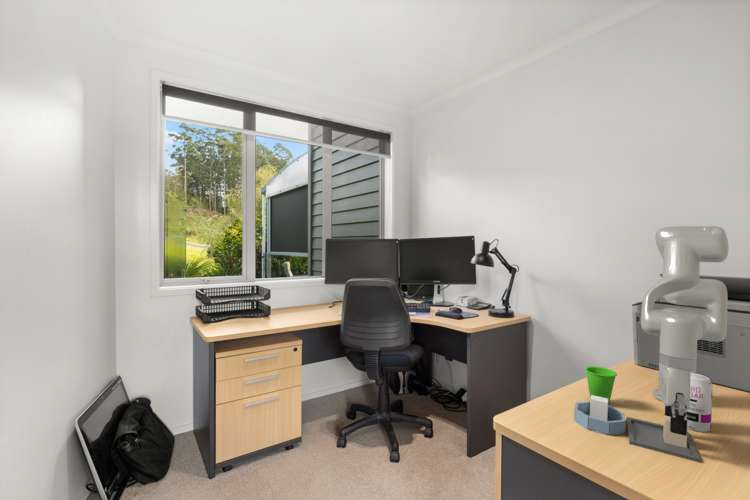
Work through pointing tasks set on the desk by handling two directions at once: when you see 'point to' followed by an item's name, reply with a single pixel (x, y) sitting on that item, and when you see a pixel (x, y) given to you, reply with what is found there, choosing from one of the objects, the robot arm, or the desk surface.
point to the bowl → (609, 427)
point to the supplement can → (700, 403)
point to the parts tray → (657, 439)
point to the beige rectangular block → (673, 435)
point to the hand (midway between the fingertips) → (675, 426)
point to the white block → (599, 407)
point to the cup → (600, 381)
